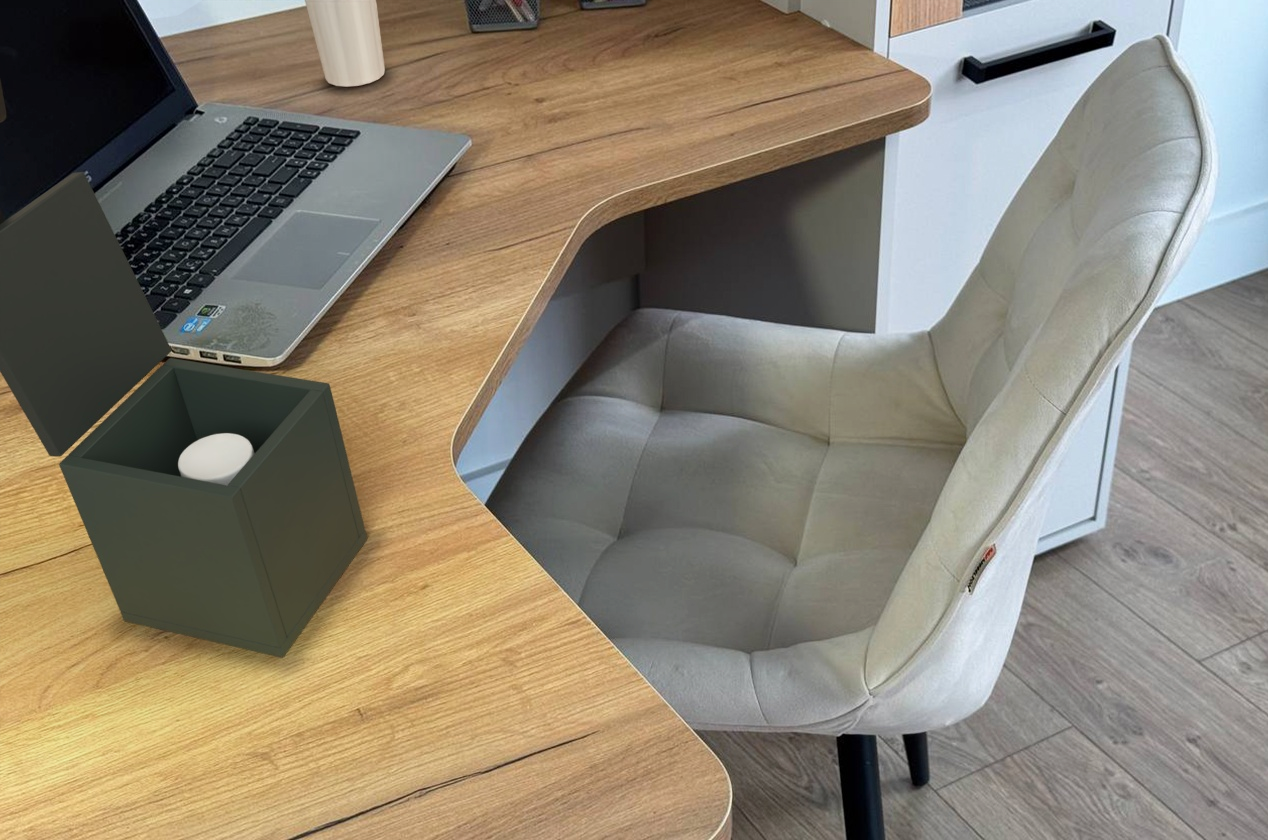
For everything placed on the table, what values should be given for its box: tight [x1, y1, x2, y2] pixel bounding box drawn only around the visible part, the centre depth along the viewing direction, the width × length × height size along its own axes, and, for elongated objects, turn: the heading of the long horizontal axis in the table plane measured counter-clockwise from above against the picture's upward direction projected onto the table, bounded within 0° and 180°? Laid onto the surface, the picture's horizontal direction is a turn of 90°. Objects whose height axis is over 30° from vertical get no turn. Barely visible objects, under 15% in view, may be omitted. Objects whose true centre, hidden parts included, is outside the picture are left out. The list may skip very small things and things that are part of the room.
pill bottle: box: [178, 433, 255, 486], centre depth 74 cm, size 5×5×10 cm
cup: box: [304, 0, 386, 88], centre depth 134 cm, size 8×8×14 cm
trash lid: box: [0, 171, 173, 458], centre depth 69 cm, size 11×10×1 cm
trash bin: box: [58, 357, 368, 658], centre depth 75 cm, size 11×10×12 cm
